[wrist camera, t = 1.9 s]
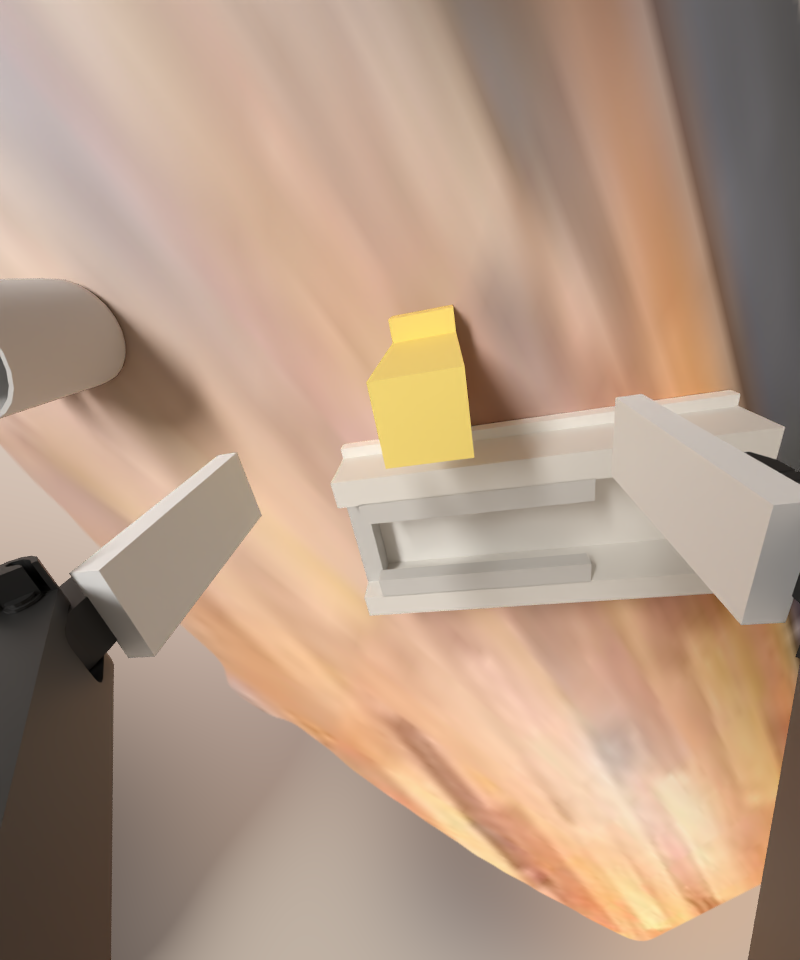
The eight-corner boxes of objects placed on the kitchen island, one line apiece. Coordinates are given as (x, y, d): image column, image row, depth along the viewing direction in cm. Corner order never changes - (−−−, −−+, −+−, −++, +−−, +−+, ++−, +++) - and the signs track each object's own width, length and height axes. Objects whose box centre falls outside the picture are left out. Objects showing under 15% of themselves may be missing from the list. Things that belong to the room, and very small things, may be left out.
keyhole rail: (343, 444, 31) (327, 472, 26) (730, 389, 26) (788, 413, 22) (380, 580, 37) (372, 622, 32) (697, 555, 32) (737, 600, 28)
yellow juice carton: (391, 316, 26) (358, 347, 15) (452, 304, 25) (460, 328, 15) (409, 414, 29) (391, 495, 19) (463, 405, 28) (477, 485, 18)
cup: (149, 366, 29) (42, 401, 21) (50, 405, 31) (-80, 450, 24) (85, 261, 26) (-67, 256, 18) (-20, 313, 28) (-195, 329, 21)
